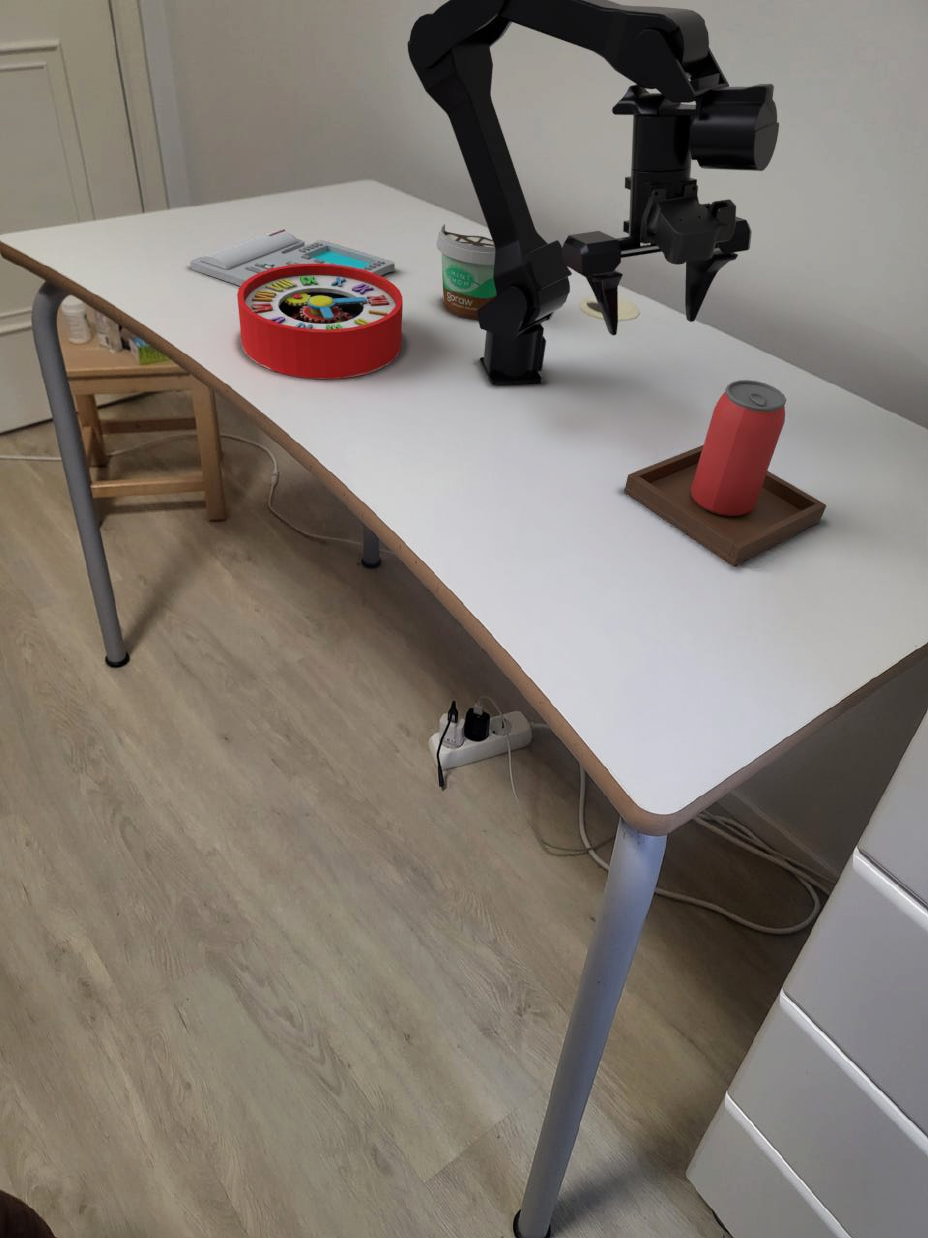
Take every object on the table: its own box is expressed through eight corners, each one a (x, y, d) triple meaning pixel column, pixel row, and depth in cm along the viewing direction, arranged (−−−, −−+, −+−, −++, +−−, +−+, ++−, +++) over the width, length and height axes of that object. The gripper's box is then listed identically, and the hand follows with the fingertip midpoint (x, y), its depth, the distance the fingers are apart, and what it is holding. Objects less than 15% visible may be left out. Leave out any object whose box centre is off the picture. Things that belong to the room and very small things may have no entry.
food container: (419, 311, 121) (422, 236, 115) (436, 296, 126) (440, 222, 119) (502, 331, 118) (510, 255, 112) (517, 315, 123) (526, 241, 116)
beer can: (698, 519, 87) (732, 409, 79) (682, 482, 92) (712, 375, 84) (762, 520, 88) (802, 412, 80) (743, 484, 93) (778, 378, 85)
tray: (623, 491, 91) (627, 474, 90) (710, 456, 98) (715, 439, 96) (733, 566, 83) (740, 548, 81) (819, 522, 89) (827, 504, 88)
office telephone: (186, 251, 125) (281, 218, 138) (189, 270, 127) (282, 235, 140) (314, 294, 116) (402, 254, 129) (315, 313, 118) (402, 272, 131)
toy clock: (225, 267, 111) (378, 259, 117) (230, 312, 115) (377, 302, 121) (252, 338, 98) (423, 324, 104) (256, 386, 102) (421, 370, 108)
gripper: (608, 191, 78) (604, 365, 87) (793, 166, 81) (771, 335, 90) (559, 173, 86) (560, 333, 95) (729, 151, 90) (714, 306, 99)
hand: (651, 327), depth 95 cm, fingers open, 9 cm apart
